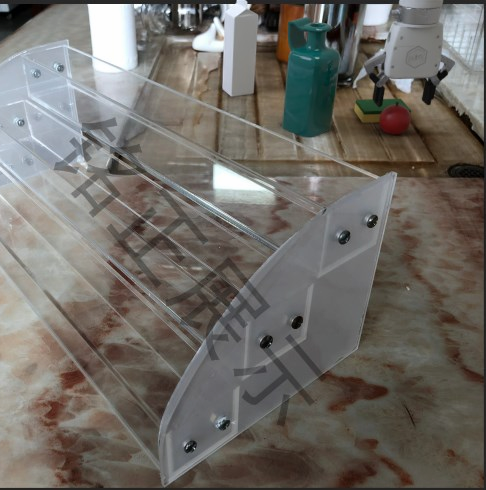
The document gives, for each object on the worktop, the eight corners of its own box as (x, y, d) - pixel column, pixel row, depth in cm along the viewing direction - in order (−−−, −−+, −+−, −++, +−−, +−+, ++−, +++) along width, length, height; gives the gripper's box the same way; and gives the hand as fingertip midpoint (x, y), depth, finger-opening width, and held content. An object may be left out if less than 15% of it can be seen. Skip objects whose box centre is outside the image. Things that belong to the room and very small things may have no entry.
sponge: (398, 111, 135) (400, 98, 133) (408, 123, 129) (411, 110, 128) (353, 112, 135) (355, 99, 134) (362, 124, 130) (364, 111, 128)
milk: (231, 98, 145) (234, 3, 132) (222, 90, 150) (224, -3, 137) (254, 95, 146) (259, 0, 134) (244, 87, 151) (248, -6, 138)
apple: (403, 128, 128) (407, 96, 124) (413, 138, 122) (418, 105, 119) (373, 129, 128) (377, 98, 124) (382, 140, 122) (386, 107, 119)
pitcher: (334, 129, 127) (349, 23, 115) (308, 140, 123) (321, 31, 111) (299, 116, 134) (310, 14, 122) (273, 127, 130) (281, 22, 117)
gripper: (377, 21, 108) (363, 111, 118) (473, 18, 108) (452, 108, 117) (366, 12, 115) (354, 99, 124) (456, 9, 114) (437, 96, 124)
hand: (401, 103), depth 121 cm, fingers open, 9 cm apart
